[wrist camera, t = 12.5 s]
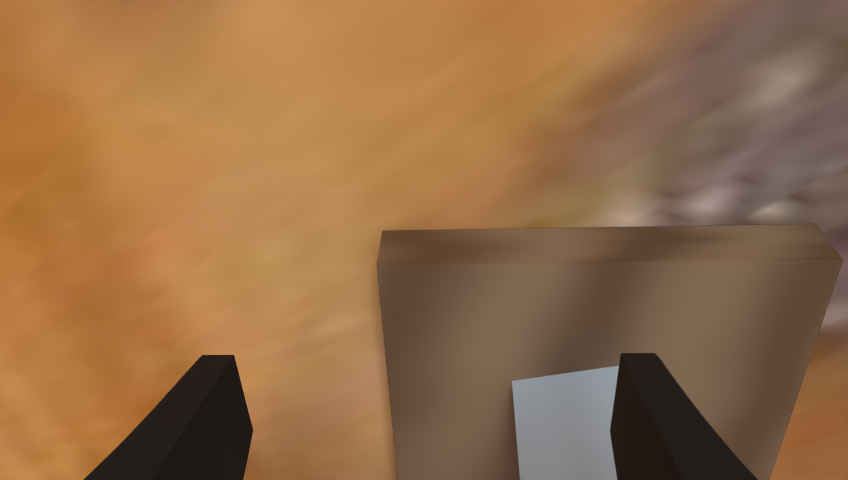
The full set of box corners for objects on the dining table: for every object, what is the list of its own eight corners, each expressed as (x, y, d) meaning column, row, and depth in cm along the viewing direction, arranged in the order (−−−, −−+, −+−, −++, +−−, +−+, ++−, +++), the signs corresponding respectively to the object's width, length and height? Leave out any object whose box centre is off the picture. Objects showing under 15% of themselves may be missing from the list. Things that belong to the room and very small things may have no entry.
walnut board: (815, 224, 23) (843, 259, 22) (732, 501, 31) (748, 543, 29) (382, 230, 24) (376, 265, 22) (406, 498, 32) (403, 539, 30)
